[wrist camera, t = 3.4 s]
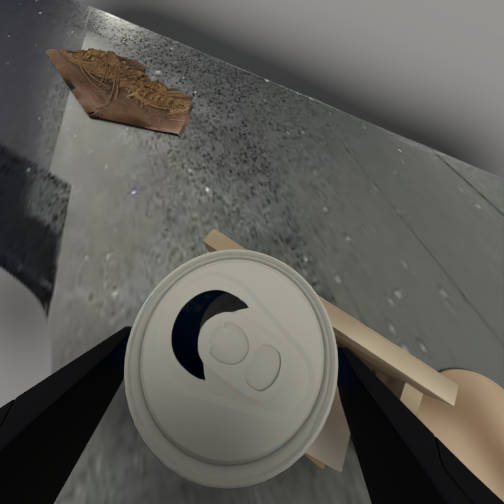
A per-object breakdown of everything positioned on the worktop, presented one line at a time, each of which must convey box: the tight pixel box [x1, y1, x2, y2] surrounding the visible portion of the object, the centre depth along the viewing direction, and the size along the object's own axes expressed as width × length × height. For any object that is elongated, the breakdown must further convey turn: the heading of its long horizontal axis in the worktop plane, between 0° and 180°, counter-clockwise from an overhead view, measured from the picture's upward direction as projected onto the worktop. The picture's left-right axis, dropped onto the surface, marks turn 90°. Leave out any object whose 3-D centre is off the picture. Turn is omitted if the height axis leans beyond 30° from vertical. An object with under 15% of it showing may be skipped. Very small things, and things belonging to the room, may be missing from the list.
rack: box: [203, 229, 459, 441], centre depth 14 cm, size 6×18×5 cm, turn 56°
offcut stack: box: [304, 385, 350, 473], centre depth 14 cm, size 7×5×4 cm
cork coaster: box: [417, 369, 504, 502], centre depth 14 cm, size 9×9×1 cm
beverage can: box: [124, 249, 338, 489], centre depth 11 cm, size 6×6×12 cm
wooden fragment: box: [46, 48, 193, 138], centre depth 26 cm, size 26×11×1 cm, turn 51°
